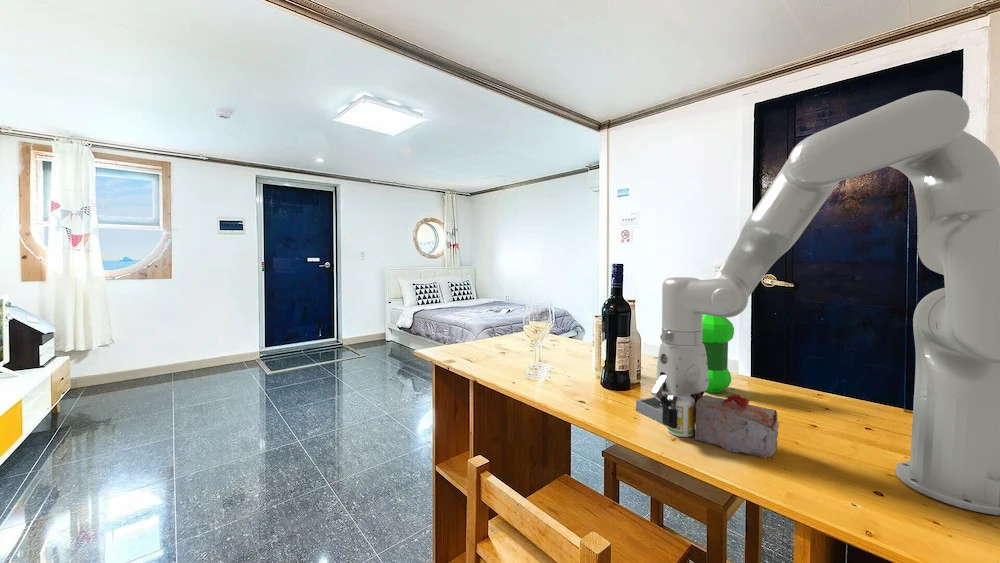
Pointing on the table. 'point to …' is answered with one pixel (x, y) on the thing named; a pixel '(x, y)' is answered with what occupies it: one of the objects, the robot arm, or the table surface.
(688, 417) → the supplement bottle
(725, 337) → the plastic bottle
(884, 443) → the table surface
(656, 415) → the divided tray
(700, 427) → the food item
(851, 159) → the robot arm
